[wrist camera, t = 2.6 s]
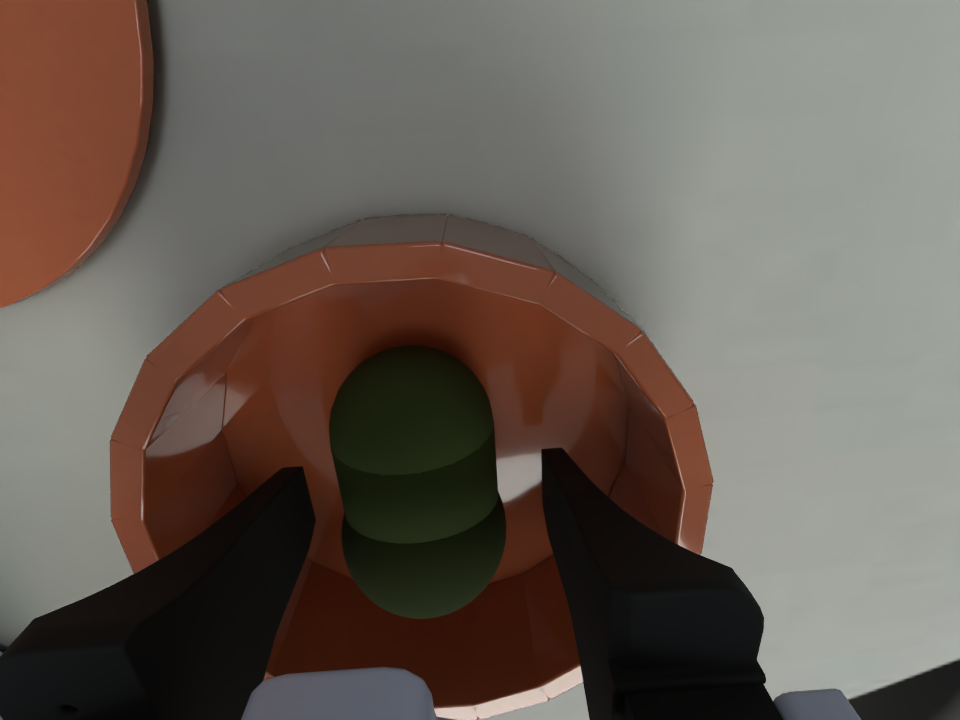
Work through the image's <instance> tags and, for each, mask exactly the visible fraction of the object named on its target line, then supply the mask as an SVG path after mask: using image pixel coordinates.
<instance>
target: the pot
mask: <svg viewBox="0 0 960 720" xmlns="http://www.w3.org/2000/svg"><path fill="white" fill-rule="evenodd" d="M405 345H421V346H427V347H431V348H435V349H439V350H442V351H444V352H446V353H448V354H450V355H452V356H454V357H456V358H458V359H459V360H460V361H461V362H463V363H464V364H465V365H466V366H467V367H468V368H470V369H471V370H472V371H473V373H474V374H475V375H476V377H477V378H478V380H479V381H480V382H481V384H482V385H483V387H484V388H485V391H486V393H487V395H488V398H489V400H490V404H491V409H492V415H493V420H494V433H495V449H496V465H497V481H498V492H499V494H500V497H501V499H502V503H503V506H504V509H505V516H506V523H507V528H506V543H505V548H504V552H503V556H502V559H501V562H500V564H499V567H498V569H497V571H496V573H495V575H494V576H493V578H492V579H491V581H490V582H489V584H488V585H487V586H486V588H485V589H484V590H483V591H482V592H481V593H480V594H479V595H478V596H477V597H476V598H475V599H474V600H473V601H471V602H470V603H468V604H467V605H465V606H464V607H462V608H460V609H458V610H456V611H455V612H452V613H450V614H447V615H443V616H440V617H434V618H427V619H415V618H407V617H402V616H399V615H396V614H393V613H391V612H389V611H386V610H385V609H383V608H381V607H379V606H378V605H376V604H375V603H373V602H372V601H371V600H370V599H369V598H368V597H367V596H366V595H365V594H364V593H363V592H362V591H361V590H360V589H359V587H358V586H357V584H356V583H355V581H354V580H353V578H352V576H351V574H350V572H349V570H348V567H347V564H346V561H345V558H344V555H343V548H342V539H341V535H342V521H343V516H344V508H343V503H342V498H341V494H340V489H339V484H338V480H337V475H336V470H335V466H334V461H333V456H332V452H331V447H330V437H329V420H330V412H331V408H332V405H333V403H334V400H335V398H336V395H337V392H338V390H339V388H340V387H341V385H342V384H343V382H344V381H345V379H346V378H347V376H348V375H349V374H350V373H351V372H352V371H353V370H354V369H355V368H356V367H357V366H358V365H360V364H361V363H362V362H363V361H364V360H366V359H368V358H369V357H371V356H373V355H375V354H377V353H379V352H381V351H383V350H386V349H389V348H393V347H398V346H405ZM561 447H562V448H563V449H564V450H565V451H566V452H567V454H568V455H569V456H570V457H571V459H572V460H573V461H574V462H575V463H576V464H577V466H578V467H579V468H580V469H581V470H582V471H583V472H584V473H585V474H586V476H587V477H588V478H589V479H590V480H591V481H592V482H593V483H594V484H595V485H596V486H597V487H598V488H599V489H600V490H601V491H602V492H603V493H604V494H605V495H607V496H608V497H609V498H610V499H611V500H612V501H613V502H614V503H616V504H617V505H618V506H619V507H620V508H621V509H623V510H624V511H625V512H627V513H628V514H629V515H631V516H632V517H634V518H635V519H636V520H638V521H639V522H641V523H642V524H644V525H645V526H647V527H648V528H650V529H651V530H653V531H655V532H656V533H658V534H660V535H661V536H663V537H665V538H666V539H668V540H670V541H672V542H674V543H676V544H678V545H680V546H682V547H684V548H686V549H688V550H690V551H692V552H694V553H696V554H698V555H700V554H701V553H702V548H703V541H704V535H705V529H706V523H707V517H708V511H709V505H710V499H711V493H712V487H713V484H712V483H713V477H712V473H711V468H710V464H709V460H708V455H707V451H706V447H705V442H704V438H703V434H702V430H701V425H700V421H699V417H698V412H697V408H696V405H695V404H694V403H693V400H692V398H691V397H690V396H689V394H688V393H687V391H686V390H685V389H684V387H683V386H682V384H681V383H680V382H679V380H678V379H677V377H676V376H675V375H674V373H673V372H672V370H671V369H670V368H669V366H668V365H667V363H666V362H665V361H664V359H663V358H662V356H661V355H660V354H659V352H658V351H657V349H656V348H655V347H654V345H653V344H652V342H651V341H650V340H649V338H648V337H647V335H646V334H645V333H644V331H643V330H642V329H641V328H640V327H639V326H638V325H637V324H636V323H635V322H634V321H633V320H632V319H631V318H630V317H629V316H628V315H627V314H626V313H625V312H624V311H623V310H622V309H621V308H620V307H619V306H618V305H617V304H616V303H615V302H614V301H613V300H612V299H611V298H610V297H609V296H608V295H607V294H606V293H605V292H604V291H603V290H602V289H601V288H600V287H599V285H598V284H597V283H595V282H594V281H593V280H592V279H591V278H590V277H588V276H587V275H585V274H584V273H582V272H581V271H579V270H578V269H576V268H575V267H574V266H572V265H571V264H569V263H568V262H567V261H566V260H564V259H563V258H562V257H560V256H559V255H557V254H556V253H554V252H552V251H550V250H549V249H547V248H546V247H544V246H543V245H541V244H540V243H538V242H537V241H535V240H534V239H532V238H529V237H528V236H527V235H523V234H519V233H516V232H512V231H510V230H507V229H505V228H502V227H499V226H495V225H492V224H488V223H484V222H480V221H476V220H472V219H469V218H461V217H458V216H454V215H446V214H438V215H436V214H421V215H395V216H389V217H382V218H366V219H364V220H358V221H355V222H353V223H350V224H348V225H346V226H343V227H340V228H337V229H334V230H332V231H329V232H327V233H325V234H323V235H321V236H318V237H316V238H314V239H311V240H309V241H306V242H304V243H301V244H299V245H296V246H294V247H291V248H289V249H287V250H286V251H284V252H282V253H280V254H279V255H277V256H275V257H274V258H272V259H270V260H269V261H267V262H265V263H263V264H262V265H260V266H258V267H257V268H255V269H253V270H251V271H250V272H248V273H246V274H245V275H243V276H241V277H240V278H238V279H236V280H234V281H233V282H231V283H229V284H228V285H226V286H224V287H223V288H221V289H219V290H217V291H216V292H215V293H214V294H213V295H212V296H211V297H210V298H209V299H207V300H206V301H205V302H204V303H203V304H202V305H201V306H200V307H199V308H198V309H197V310H196V311H195V312H193V313H192V314H191V315H190V316H189V317H188V318H187V319H186V320H185V321H184V322H183V323H182V324H181V325H179V326H178V327H177V328H176V329H175V330H174V331H173V332H172V333H171V334H170V335H169V336H168V337H167V338H165V339H164V340H163V341H162V342H161V343H160V344H159V345H158V346H157V347H156V348H155V349H154V350H153V351H152V352H150V353H149V354H148V355H147V357H146V359H145V360H144V362H143V364H142V367H141V369H140V371H139V374H138V376H137V378H136V380H135V383H134V385H133V387H132V390H131V392H130V394H129V396H128V399H127V401H126V403H125V406H124V408H123V410H122V412H121V415H120V417H119V419H118V422H117V424H116V426H115V428H114V431H113V433H112V436H111V440H110V488H111V518H112V520H111V521H112V523H113V526H114V528H115V531H116V533H117V535H118V538H119V540H120V542H121V545H122V547H123V549H124V552H125V554H126V556H127V559H128V561H129V563H130V566H131V568H132V570H133V573H134V574H135V573H137V572H139V571H140V570H142V569H144V568H146V567H147V566H149V565H151V564H153V563H155V562H156V561H158V560H160V559H162V558H163V557H165V556H167V555H168V554H170V553H172V552H173V551H175V550H176V549H178V548H179V547H181V546H182V545H184V544H186V543H187V542H189V541H190V540H192V539H193V538H194V537H196V536H197V535H199V534H200V533H202V532H203V531H204V530H206V529H207V528H208V527H210V526H211V525H212V524H214V523H215V522H216V521H217V520H219V519H220V518H221V517H223V516H224V515H225V514H227V513H228V512H229V511H230V510H232V509H233V508H234V507H235V506H237V505H238V504H239V503H240V502H241V501H243V500H244V499H245V498H246V497H247V496H249V495H250V494H251V493H252V492H253V491H255V490H256V489H257V488H258V487H259V486H260V485H262V484H263V483H264V482H265V481H266V480H268V479H269V478H270V477H271V476H272V475H274V474H275V473H276V472H277V471H279V470H280V469H281V468H283V467H297V466H303V469H304V473H305V477H306V481H307V485H308V489H309V493H310V497H311V502H312V506H313V510H314V514H315V518H316V523H315V527H314V531H313V536H312V540H311V544H310V547H309V551H308V554H307V557H306V559H305V562H304V564H303V567H302V569H301V572H300V575H299V577H298V580H297V582H296V585H295V587H294V590H293V592H292V595H291V597H290V600H289V602H288V605H287V607H286V610H285V612H284V615H283V617H282V620H281V622H280V625H279V628H278V631H277V634H276V637H275V640H274V644H273V648H272V651H271V655H270V658H269V662H268V665H267V669H266V673H265V676H264V680H267V679H270V678H273V677H277V676H281V675H284V674H291V673H305V672H318V671H332V670H346V669H360V668H373V667H391V668H401V669H405V670H407V671H409V672H411V673H413V674H415V675H417V676H419V677H420V678H422V679H423V680H424V682H425V683H426V685H427V687H428V688H429V690H430V692H431V694H432V699H433V705H434V711H435V713H436V716H437V717H442V718H448V719H455V720H478V719H479V720H481V719H485V718H489V717H492V716H496V715H500V714H503V713H507V712H510V711H514V710H518V709H521V708H525V707H529V706H532V705H536V704H539V703H543V702H547V701H549V700H550V699H553V698H555V697H557V696H559V695H561V694H562V693H564V692H566V691H568V690H570V689H572V688H574V687H575V686H577V685H579V684H581V683H583V678H582V672H581V667H580V661H579V656H578V650H577V645H576V640H575V635H574V629H573V624H572V619H571V614H570V610H569V606H568V602H567V598H566V595H565V591H564V588H563V585H562V581H561V578H560V575H559V571H558V568H557V564H556V561H555V558H554V554H553V551H552V548H551V544H550V541H549V537H548V534H547V528H546V522H545V516H544V510H543V504H542V458H541V449H547V448H561ZM264 680H263V681H264Z"/></svg>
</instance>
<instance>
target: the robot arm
mask: <svg viewBox="0 0 960 720" xmlns="http://www.w3.org/2000/svg"><path fill="white" fill-rule="evenodd" d="M541 458H542V504H543V510H544V516H545V522H546V528H547V534H548V537H549V541H550V544H551V548H552V551H553V554H554V558H555V561H556V564H557V568H558V571H559V575H560V578H561V581H562V585H563V588H564V591H565V595H566V598H567V602H568V606H569V610H570V614H571V619H572V624H573V629H574V635H575V640H576V645H577V650H578V656H579V661H580V667H581V672H582V678H583V683H584V689H585V695H586V700H587V706H588V712H589V718H590V720H861V719H860V717H859V716H858V715H857V713H856V712H855V710H854V709H853V707H852V706H851V704H850V703H849V702H848V700H847V699H846V697H845V696H844V694H843V693H842V691H840V690H838V689H823V690H809V691H795V692H788V693H783V694H781V695H779V696H778V697H776V698H775V699H774V701H772V699H771V697H770V695H769V694H768V692H767V690H766V688H765V686H764V685H763V684H765V682H766V677H765V674H764V672H763V670H762V669H761V667H760V665H759V663H758V662H757V656H758V651H759V647H760V642H761V638H762V633H763V629H764V617H763V614H762V611H761V609H760V607H759V605H758V603H757V602H756V600H755V599H754V597H753V596H752V594H751V593H750V591H749V590H748V588H747V587H746V586H745V584H744V583H743V582H742V581H741V579H740V578H739V577H738V576H737V574H736V573H735V572H734V570H733V569H732V568H730V567H728V566H725V565H723V564H720V563H718V562H715V561H713V560H710V559H708V558H706V557H703V556H701V555H698V554H696V553H694V552H692V551H690V550H688V549H686V548H684V547H682V546H680V545H678V544H676V543H674V542H672V541H670V540H668V539H666V538H665V537H663V536H661V535H660V534H658V533H656V532H655V531H653V530H651V529H650V528H648V527H647V526H645V525H644V524H642V523H641V522H639V521H638V520H636V519H635V518H634V517H632V516H631V515H629V514H628V513H627V512H625V511H624V510H623V509H621V508H620V507H619V506H618V505H617V504H616V503H614V502H613V501H612V500H611V499H610V498H609V497H608V496H607V495H605V494H604V493H603V492H602V491H601V490H600V489H599V488H598V487H597V486H596V485H595V484H594V483H593V482H592V481H591V480H590V479H589V478H588V477H587V476H586V474H585V473H584V472H583V471H582V470H581V469H580V468H579V467H578V466H577V464H576V463H575V462H574V461H573V460H572V459H571V457H570V456H569V455H568V454H567V452H566V451H565V450H564V449H563V448H562V447H561V448H547V449H541ZM315 523H316V518H315V514H314V510H313V506H312V502H311V497H310V493H309V489H308V485H307V481H306V477H305V473H304V469H303V466H297V467H283V468H281V469H280V470H279V471H277V472H276V473H275V474H274V475H272V476H271V477H270V478H269V479H268V480H266V481H265V482H264V483H263V484H262V485H260V486H259V487H258V488H257V489H256V490H255V491H253V492H252V493H251V494H250V495H249V496H247V497H246V498H245V499H244V500H243V501H241V502H240V503H239V504H238V505H237V506H235V507H234V508H233V509H232V510H230V511H229V512H228V513H227V514H225V515H224V516H223V517H221V518H220V519H219V520H217V521H216V522H215V523H214V524H212V525H211V526H210V527H208V528H207V529H206V530H204V531H203V532H202V533H200V534H199V535H197V536H196V537H194V538H193V539H192V540H190V541H189V542H187V543H186V544H184V545H182V546H181V547H179V548H178V549H176V550H175V551H173V552H172V553H170V554H168V555H167V556H165V557H163V558H162V559H160V560H158V561H156V562H155V563H153V564H151V565H149V566H147V567H146V568H144V569H142V570H140V571H139V572H137V573H135V574H133V575H131V576H130V577H128V578H126V579H124V580H122V581H120V582H118V583H116V584H114V585H112V586H110V587H108V588H105V589H103V590H101V591H99V592H97V593H95V594H93V595H91V596H88V597H86V598H84V599H82V600H79V601H77V602H74V603H72V604H70V605H67V606H65V607H62V608H60V609H57V610H55V611H53V612H50V613H48V614H45V615H43V616H40V617H37V618H35V619H33V621H32V622H31V623H30V624H29V625H28V626H27V627H26V628H25V629H24V631H23V632H22V633H21V634H20V635H19V636H18V637H17V638H16V639H15V641H14V642H13V643H12V644H11V645H10V646H9V647H8V648H7V649H6V650H5V652H1V651H0V720H455V719H448V718H442V717H437V716H436V713H435V711H434V705H433V699H432V694H431V692H430V690H429V688H428V687H427V685H426V683H425V682H424V680H423V679H422V678H420V677H419V676H417V675H415V674H413V673H411V672H409V671H407V670H405V669H401V668H391V667H373V668H360V669H346V670H332V671H318V672H305V673H291V674H284V675H281V676H277V677H273V678H270V679H267V680H264V676H265V673H266V669H267V665H268V662H269V658H270V655H271V651H272V648H273V644H274V640H275V637H276V634H277V631H278V628H279V625H280V622H281V620H282V617H283V615H284V612H285V610H286V607H287V605H288V602H289V600H290V597H291V595H292V592H293V590H294V587H295V585H296V582H297V580H298V577H299V575H300V572H301V569H302V567H303V564H304V562H305V559H306V557H307V554H308V551H309V547H310V544H311V540H312V536H313V531H314V527H315ZM263 680H264V681H263Z"/></svg>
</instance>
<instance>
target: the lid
mask: <svg viewBox="0 0 960 720" xmlns="http://www.w3.org/2000/svg"><path fill="white" fill-rule="evenodd" d="M153 58H154V57H153V48H152V39H151V31H150V22H149V13H148V5H147V1H146V0H0V308H1V307H4V306H8V305H11V304H14V303H17V302H19V301H22V300H24V299H26V298H28V297H30V296H33V295H35V294H37V293H39V292H41V291H43V290H45V289H47V288H49V287H51V286H53V285H54V284H56V283H57V282H58V281H60V280H61V279H63V278H64V277H66V276H67V275H68V274H70V273H71V272H73V271H74V270H75V269H77V268H78V267H79V266H80V265H81V264H82V263H83V262H84V261H85V260H86V259H87V258H88V257H89V256H90V255H91V254H92V253H93V252H94V251H95V250H96V249H97V248H98V247H99V246H100V245H101V244H102V242H103V241H104V240H105V238H106V237H107V235H108V234H109V232H110V231H111V230H112V228H113V227H114V225H115V224H116V222H117V221H118V219H119V218H120V217H121V215H122V213H123V211H124V208H125V206H126V204H127V202H128V200H129V198H130V196H131V194H132V191H133V189H134V187H135V185H136V183H137V179H138V176H139V173H140V169H141V166H142V162H143V159H144V155H145V152H146V149H147V144H148V137H149V130H150V123H151V116H152V109H153Z"/></svg>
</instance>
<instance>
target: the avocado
mask: <svg viewBox="0 0 960 720" xmlns="http://www.w3.org/2000/svg"><path fill="white" fill-rule="evenodd" d="M329 437H330V447H331V452H332V456H333V461H334V466H335V470H336V475H337V480H338V484H339V489H340V494H341V498H342V503H343V508H344V516H343V521H342V535H341V539H342V548H343V555H344V558H345V561H346V564H347V567H348V570H349V572H350V574H351V576H352V578H353V580H354V581H355V583H356V584H357V586H358V587H359V589H360V590H361V591H362V592H363V593H364V594H365V595H366V596H367V597H368V598H369V599H370V600H371V601H372V602H373V603H375V604H376V605H378V606H379V607H381V608H383V609H385V610H386V611H389V612H391V613H393V614H396V615H399V616H402V617H407V618H415V619H427V618H434V617H440V616H443V615H447V614H450V613H452V612H455V611H456V610H458V609H460V608H462V607H464V606H465V605H467V604H468V603H470V602H471V601H473V600H474V599H475V598H476V597H477V596H478V595H479V594H480V593H481V592H482V591H483V590H484V589H485V588H486V586H487V585H488V584H489V582H490V581H491V579H492V578H493V576H494V575H495V573H496V571H497V569H498V567H499V564H500V562H501V559H502V556H503V552H504V548H505V543H506V528H507V523H506V516H505V509H504V506H503V503H502V499H501V497H500V494H499V492H498V481H497V465H496V449H495V433H494V420H493V415H492V409H491V404H490V400H489V398H488V395H487V393H486V391H485V388H484V387H483V385H482V384H481V382H480V381H479V380H478V378H477V377H476V375H475V374H474V373H473V371H472V370H471V369H470V368H468V367H467V366H466V365H465V364H464V363H463V362H461V361H460V360H459V359H458V358H456V357H454V356H452V355H450V354H448V353H446V352H444V351H442V350H439V349H435V348H431V347H427V346H421V345H405V346H398V347H393V348H389V349H386V350H383V351H381V352H379V353H377V354H375V355H373V356H371V357H369V358H368V359H366V360H364V361H363V362H362V363H361V364H360V365H358V366H357V367H356V368H355V369H354V370H353V371H352V372H351V373H350V374H349V375H348V376H347V378H346V379H345V381H344V382H343V384H342V385H341V387H340V388H339V390H338V392H337V395H336V398H335V400H334V403H333V405H332V408H331V412H330V420H329Z"/></svg>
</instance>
